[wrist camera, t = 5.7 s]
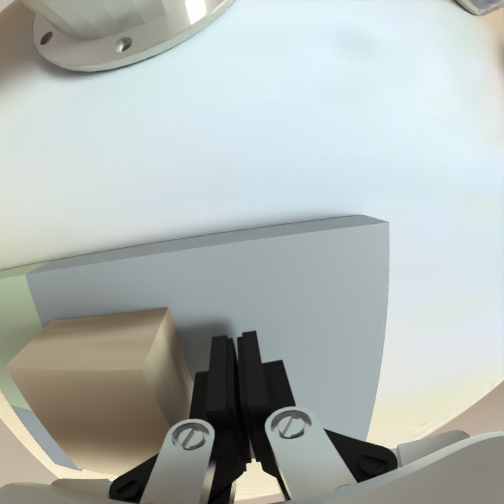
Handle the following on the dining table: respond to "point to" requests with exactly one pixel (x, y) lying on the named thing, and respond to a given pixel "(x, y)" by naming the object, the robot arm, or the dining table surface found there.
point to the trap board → (230, 307)
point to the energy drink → (481, 6)
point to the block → (106, 386)
